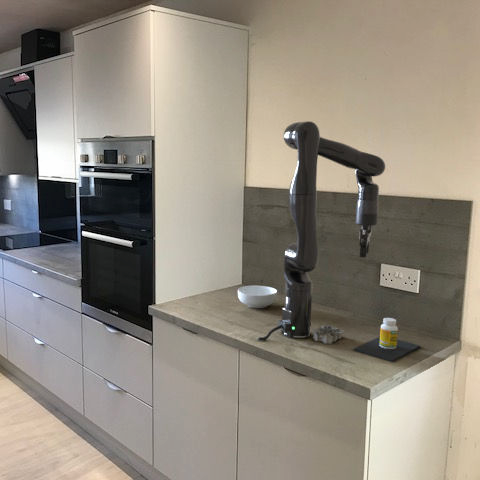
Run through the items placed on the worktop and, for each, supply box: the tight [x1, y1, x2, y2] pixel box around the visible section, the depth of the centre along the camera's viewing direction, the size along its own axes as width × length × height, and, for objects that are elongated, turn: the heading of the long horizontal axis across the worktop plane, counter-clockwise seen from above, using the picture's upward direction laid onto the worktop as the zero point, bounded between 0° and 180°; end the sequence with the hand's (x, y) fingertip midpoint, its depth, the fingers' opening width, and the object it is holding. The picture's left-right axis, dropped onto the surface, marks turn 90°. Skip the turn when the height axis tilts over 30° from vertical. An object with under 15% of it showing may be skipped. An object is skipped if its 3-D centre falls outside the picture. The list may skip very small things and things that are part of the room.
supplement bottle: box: [379, 317, 399, 349], centre depth 176 cm, size 5×5×10 cm
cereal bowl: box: [237, 285, 278, 309], centre depth 226 cm, size 17×17×7 cm
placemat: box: [353, 336, 421, 363], centre depth 177 cm, size 20×13×1 cm, turn 131°
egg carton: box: [311, 323, 344, 345], centre depth 186 cm, size 11×8×4 cm
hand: (364, 255), depth 195 cm, fingers open, 8 cm apart
